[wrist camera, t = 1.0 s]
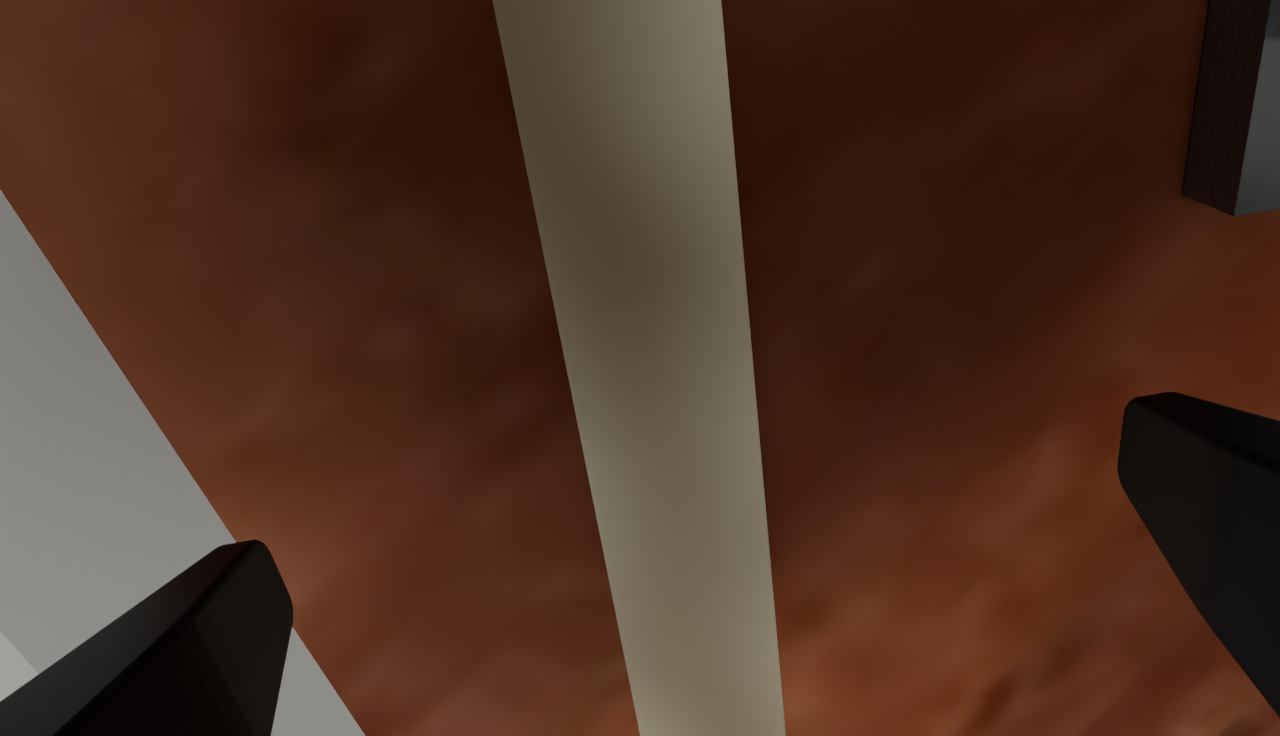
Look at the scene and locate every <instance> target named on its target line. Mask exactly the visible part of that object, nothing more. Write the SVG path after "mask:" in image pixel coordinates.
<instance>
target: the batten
mask: <svg viewBox="0 0 1280 736" xmlns="http://www.w3.org/2000/svg"><path fill="white" fill-rule="evenodd" d="M492 1H493V6H494V11H495V16H496V21H497V26H498V30H499V35H500V40H501V45H502V50H503V55H504V60H505V65H506V70H507V75H508V80H509V85H510V90H511V95H512V100H513V105H514V110H515V115H516V120H517V125H518V130H519V135H520V140H521V145H522V150H523V155H524V160H525V165H526V170H527V175H528V180H529V185H530V190H531V195H532V200H533V205H534V209H535V214H536V219H537V224H538V229H539V234H540V239H541V244H542V249H543V254H544V259H545V264H546V269H547V274H548V279H549V284H550V289H551V294H552V299H553V304H554V309H555V314H556V319H557V324H558V329H559V334H560V339H561V344H562V349H563V354H564V359H565V364H566V369H567V374H568V379H569V384H570V389H571V393H572V398H573V403H574V408H575V413H576V418H577V423H578V428H579V433H580V438H581V443H582V448H583V453H584V458H585V463H586V468H587V473H588V478H589V483H590V488H591V493H592V498H593V503H594V508H595V513H596V518H597V523H598V528H599V533H600V538H601V543H602V548H603V553H604V558H605V563H606V568H607V572H608V577H609V582H610V587H611V592H612V597H613V602H614V607H615V612H616V617H617V622H618V627H619V632H620V637H621V642H622V647H623V652H624V657H625V662H626V667H627V672H628V677H629V682H630V687H631V692H632V697H633V702H634V707H635V712H636V717H637V722H638V727H639V732H640V736H786V735H785V723H784V712H783V700H782V689H781V677H780V666H779V655H778V643H777V632H776V620H775V609H774V597H773V586H772V574H771V563H770V552H769V540H768V529H767V517H766V506H765V494H764V483H763V472H762V460H761V449H760V437H759V426H758V414H757V403H756V392H755V380H754V369H753V357H752V346H751V334H750V323H749V311H748V300H747V289H746V277H745V266H744V254H743V243H742V231H741V220H740V209H739V197H738V186H737V174H736V163H735V151H734V140H733V129H732V117H731V106H730V94H729V83H728V71H727V60H726V49H725V37H724V26H723V14H722V3H721V0H492Z"/></svg>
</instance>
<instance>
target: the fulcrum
mask: <svg viewBox="0 0 1280 736" xmlns="http://www.w3.org/2000/svg"><path fill="white" fill-rule="evenodd" d="M1183 196H1186V197H1188V198H1191V199H1193V200H1196V201H1198V202H1201V203H1203V204H1205V205H1208V206H1210V207H1213V208H1215V209H1218V210H1220V211H1222V212H1225V213H1227V214H1230V215H1232V216H1239V215H1245V214H1251V213H1257V212H1263V211H1269V210H1275V209H1280V0H1210V7H1209V14H1208V21H1207V28H1206V35H1205V42H1204V49H1203V56H1202V63H1201V70H1200V77H1199V84H1198V91H1197V98H1196V105H1195V112H1194V119H1193V126H1192V133H1191V140H1190V147H1189V154H1188V161H1187V168H1186V175H1185V182H1184V189H1183Z"/></svg>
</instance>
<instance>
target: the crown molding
mask: <svg viewBox="0 0 1280 736" xmlns="http://www.w3.org/2000/svg"><path fill="white" fill-rule="evenodd" d="M231 543H236V542H235V540H234V539H233V537H232V536H231V534H230V533H229V531H228V530H227V528H226V527H225V525H224V524H223V522H222V521H221V519H220V518H219V516H218V515H217V513H216V512H215V510H214V509H213V507H212V506H211V504H210V503H209V501H208V500H207V498H206V497H205V495H204V494H203V492H202V491H201V489H200V488H199V486H198V485H197V483H196V482H195V480H194V479H193V477H192V476H191V474H190V473H189V471H188V470H187V468H186V467H185V465H184V464H183V462H182V461H181V459H180V458H179V456H178V455H177V453H176V452H175V450H174V449H173V447H172V446H171V444H170V443H169V441H168V440H167V438H166V437H165V435H164V434H163V432H162V431H161V429H160V428H159V426H158V425H157V423H156V422H155V420H154V419H153V417H152V416H151V414H150V413H149V411H148V410H147V408H146V407H145V405H144V404H143V402H142V401H141V399H140V398H139V396H138V395H137V394H136V392H135V391H134V389H133V388H132V386H131V385H130V383H129V382H128V380H127V379H126V377H125V376H124V374H123V373H122V371H121V370H120V368H119V367H118V365H117V364H116V362H115V361H114V359H113V358H112V356H111V355H110V353H109V352H108V350H107V349H106V347H105V346H104V344H103V343H102V341H101V340H100V338H99V337H98V335H97V334H96V332H95V331H94V329H93V328H92V326H91V325H90V323H89V322H88V320H87V319H86V317H85V316H84V314H83V313H82V311H81V310H80V308H79V307H78V305H77V304H76V302H75V301H74V299H73V298H72V296H71V295H70V293H69V292H68V290H67V289H66V287H65V286H64V284H63V283H62V281H61V280H60V278H59V277H58V275H57V274H56V272H55V271H54V269H53V268H52V266H51V265H50V263H49V262H48V260H47V259H46V257H45V256H44V254H43V253H42V251H41V250H40V248H39V247H38V245H37V244H36V242H35V241H34V239H33V238H32V236H31V235H30V233H29V232H28V230H27V229H26V227H25V226H24V224H23V223H22V221H21V220H20V218H19V217H18V215H17V214H16V212H15V211H14V209H13V208H12V206H11V205H10V203H9V202H8V200H7V199H6V197H5V196H4V194H3V193H2V191H1V190H0V701H2V700H3V699H5V698H6V697H7V696H9V695H10V694H12V693H13V692H14V691H16V690H17V689H19V688H20V687H21V686H23V685H24V684H26V683H27V682H28V681H30V680H31V679H33V678H34V677H35V676H37V675H38V674H40V673H41V672H42V671H44V670H45V669H47V668H48V667H49V666H51V665H52V664H54V663H55V662H56V661H58V660H59V659H61V658H62V657H64V656H65V655H66V654H68V653H69V652H71V651H72V650H73V649H75V648H76V647H78V646H79V645H80V644H82V643H83V642H85V641H86V640H87V639H89V638H90V637H92V636H93V635H94V634H96V633H97V632H99V631H100V630H101V629H103V628H104V627H106V626H107V625H108V624H110V623H111V622H113V621H114V620H115V619H117V618H118V617H120V616H121V615H123V614H124V613H125V612H127V611H128V610H130V609H131V608H132V607H134V606H135V605H137V604H138V603H139V602H141V601H142V600H144V599H145V598H146V597H148V596H149V595H151V594H152V593H153V592H155V591H156V590H158V589H159V588H160V587H162V586H163V585H165V584H166V583H167V582H169V581H170V580H172V579H173V578H174V577H176V576H177V575H179V574H180V573H182V572H183V571H184V570H186V569H187V568H189V567H190V566H191V565H193V564H194V563H196V562H197V561H198V560H200V559H201V558H203V557H204V556H205V555H207V554H208V553H210V552H211V551H212V550H214V549H215V548H217V547H219V546H222V545H225V544H231ZM271 736H365V735H364V733H363V732H362V730H361V729H360V727H359V726H358V724H357V723H356V721H355V720H354V718H353V717H352V715H351V714H350V712H349V711H348V709H347V708H346V706H345V705H344V703H343V702H342V700H341V699H340V697H339V696H338V694H337V693H336V691H335V690H334V688H333V687H332V685H331V684H330V682H329V681H328V679H327V678H326V676H325V675H324V673H323V672H322V670H321V669H320V667H319V666H318V664H317V663H316V661H315V660H314V658H313V657H312V655H311V654H310V652H309V651H308V649H307V648H306V646H305V645H304V643H303V642H302V640H301V639H300V637H299V636H298V634H297V633H296V631H295V630H294V628H293V627H292V629H291V635H290V640H289V645H288V650H287V655H286V660H285V666H284V671H283V676H282V681H281V686H280V691H279V696H278V702H277V707H276V712H275V717H274V722H273V727H272V733H271Z"/></svg>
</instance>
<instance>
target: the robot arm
mask: <svg viewBox="0 0 1280 736" xmlns="http://www.w3.org/2000/svg"><path fill="white" fill-rule="evenodd" d="M1118 475H1119V479H1120V483H1121V485H1122V487H1123V489H1124V491H1125V493H1126V495H1127V496H1128V498H1129V500H1130V501H1131V503H1132V505H1133V506H1134V508H1135V509H1136V511H1137V513H1138V514H1139V516H1140V518H1141V519H1142V521H1143V523H1144V524H1145V526H1146V527H1147V529H1148V531H1149V532H1150V534H1151V536H1152V537H1153V539H1154V541H1155V542H1156V544H1157V545H1158V547H1159V549H1160V550H1161V552H1162V554H1163V555H1164V557H1165V559H1166V560H1167V562H1168V563H1169V565H1170V567H1171V568H1172V570H1173V572H1174V573H1175V575H1176V577H1177V578H1178V580H1179V581H1180V583H1181V585H1182V586H1183V588H1184V590H1185V591H1186V593H1187V594H1188V596H1189V597H1190V599H1191V600H1192V602H1193V603H1194V605H1195V606H1196V608H1197V609H1198V611H1199V612H1200V614H1201V615H1202V616H1203V618H1204V619H1205V621H1206V622H1207V623H1208V625H1209V626H1210V627H1211V629H1212V630H1213V632H1214V633H1215V634H1216V636H1217V637H1218V638H1219V639H1220V641H1221V642H1222V643H1223V645H1224V646H1225V647H1226V649H1227V650H1228V651H1229V653H1230V654H1231V655H1232V656H1233V658H1234V659H1235V660H1236V662H1237V663H1238V664H1239V666H1240V667H1241V668H1242V669H1243V671H1244V672H1245V673H1246V675H1247V676H1248V677H1249V679H1250V680H1251V681H1252V682H1253V684H1254V685H1255V686H1256V688H1257V689H1258V690H1259V692H1260V693H1261V694H1262V695H1263V697H1264V698H1265V699H1266V701H1267V702H1268V703H1269V705H1270V706H1271V707H1272V709H1273V710H1274V711H1275V712H1276V714H1277V715H1278V716H1279V718H1280V421H1278V420H1274V419H1270V418H1267V417H1263V416H1260V415H1256V414H1252V413H1249V412H1245V411H1242V410H1238V409H1234V408H1231V407H1227V406H1224V405H1220V404H1216V403H1213V402H1209V401H1206V400H1202V399H1198V398H1195V397H1191V396H1187V395H1184V394H1180V393H1176V392H1165V393H1159V394H1153V395H1147V396H1140V397H1136V398H1133V399H1132V400H1131V401H1130V402H1129V403H1128V404H1127V406H1126V408H1125V411H1124V416H1123V424H1122V432H1121V441H1120V449H1119V457H1118ZM292 624H293V605H292V601H291V598H290V595H289V593H288V591H287V588H286V586H285V584H284V582H283V580H282V577H281V575H280V573H279V571H278V568H277V566H276V564H275V562H274V560H273V557H272V555H271V553H270V551H269V549H268V548H267V546H266V545H265V544H264V543H262V542H260V541H258V540H250V541H243V542H237V543H231V544H225V545H222V546H219V547H217V548H215V549H214V550H212V551H211V552H210V553H208V554H207V555H205V556H204V557H203V558H201V559H200V560H198V561H197V562H196V563H194V564H193V565H191V566H190V567H189V568H187V569H186V570H184V571H183V572H182V573H180V574H179V575H177V576H176V577H174V578H173V579H172V580H170V581H169V582H167V583H166V584H165V585H163V586H162V587H160V588H159V589H158V590H156V591H155V592H153V593H152V594H151V595H149V596H148V597H146V598H145V599H144V600H142V601H141V602H139V603H138V604H137V605H135V606H134V607H132V608H131V609H130V610H128V611H127V612H125V613H124V614H123V615H121V616H120V617H118V618H117V619H115V620H114V621H113V622H111V623H110V624H108V625H107V626H106V627H104V628H103V629H101V630H100V631H99V632H97V633H96V634H94V635H93V636H92V637H90V638H89V639H87V640H86V641H85V642H83V643H82V644H80V645H79V646H78V647H76V648H75V649H73V650H72V651H71V652H69V653H68V654H66V655H65V656H64V657H62V658H61V659H59V660H58V661H56V662H55V663H54V664H52V665H51V666H49V667H48V668H47V669H45V670H44V671H42V672H41V673H40V674H38V675H37V676H35V677H34V678H33V679H31V680H30V681H28V682H27V683H26V684H24V685H23V686H21V687H20V688H19V689H17V690H16V691H14V692H13V693H12V694H10V695H9V696H7V697H6V698H5V699H3V700H2V701H0V736H271V733H272V727H273V722H274V717H275V712H276V707H277V702H278V696H279V691H280V686H281V681H282V676H283V671H284V666H285V660H286V655H287V650H288V645H289V640H290V635H291V629H292Z"/></svg>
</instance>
